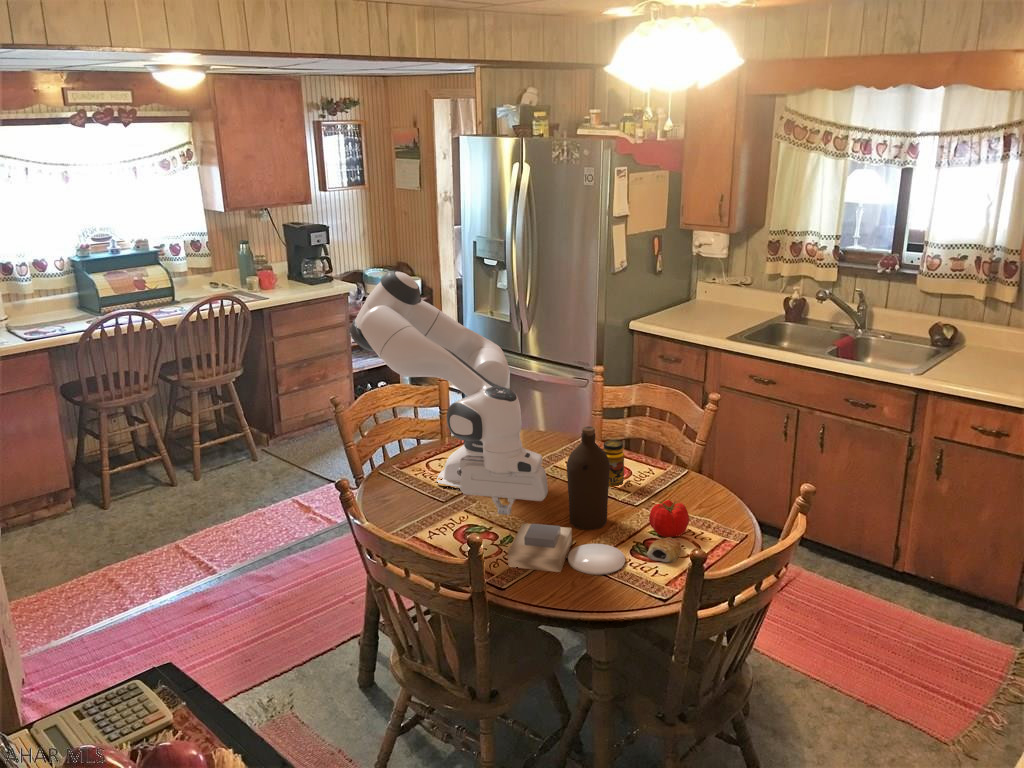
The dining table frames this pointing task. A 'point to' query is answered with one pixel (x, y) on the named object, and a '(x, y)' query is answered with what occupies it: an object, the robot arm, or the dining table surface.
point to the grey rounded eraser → (542, 535)
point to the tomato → (669, 519)
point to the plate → (596, 559)
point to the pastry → (664, 550)
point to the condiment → (615, 462)
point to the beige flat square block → (539, 552)
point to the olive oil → (588, 483)
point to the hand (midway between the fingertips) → (504, 513)
